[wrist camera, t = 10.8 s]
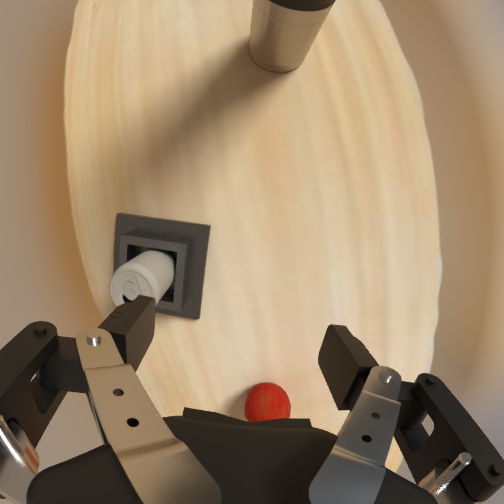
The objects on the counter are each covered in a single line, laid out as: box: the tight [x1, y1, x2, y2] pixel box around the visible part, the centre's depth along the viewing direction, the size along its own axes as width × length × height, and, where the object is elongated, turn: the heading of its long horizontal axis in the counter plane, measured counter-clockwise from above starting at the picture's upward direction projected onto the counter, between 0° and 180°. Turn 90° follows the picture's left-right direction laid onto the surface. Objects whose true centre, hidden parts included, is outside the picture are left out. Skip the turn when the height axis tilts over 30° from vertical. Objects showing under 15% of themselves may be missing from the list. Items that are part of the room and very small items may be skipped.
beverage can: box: [110, 248, 176, 307], centre depth 34 cm, size 6×6×12 cm
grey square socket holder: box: [114, 213, 211, 319], centre depth 39 cm, size 15×15×4 cm
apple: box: [245, 383, 291, 422], centre depth 42 cm, size 8×8×11 cm
